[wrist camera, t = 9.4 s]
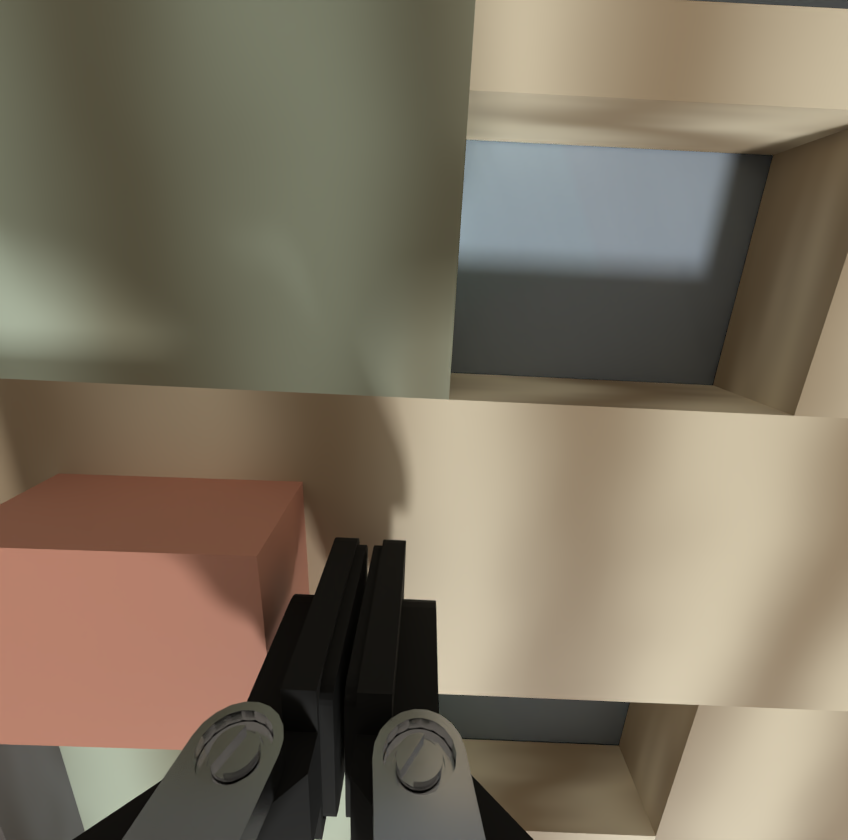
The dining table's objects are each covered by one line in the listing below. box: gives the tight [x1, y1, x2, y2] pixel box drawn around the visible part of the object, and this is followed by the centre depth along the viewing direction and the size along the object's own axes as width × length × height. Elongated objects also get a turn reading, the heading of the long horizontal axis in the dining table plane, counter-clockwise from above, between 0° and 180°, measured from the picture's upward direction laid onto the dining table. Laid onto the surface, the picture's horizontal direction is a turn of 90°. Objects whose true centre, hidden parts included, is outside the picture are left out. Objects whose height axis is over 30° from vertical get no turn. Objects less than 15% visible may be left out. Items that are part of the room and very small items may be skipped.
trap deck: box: [0, 0, 848, 840], centre depth 12 cm, size 34×24×5 cm
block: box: [0, 474, 309, 750], centre depth 10 cm, size 6×5×3 cm
